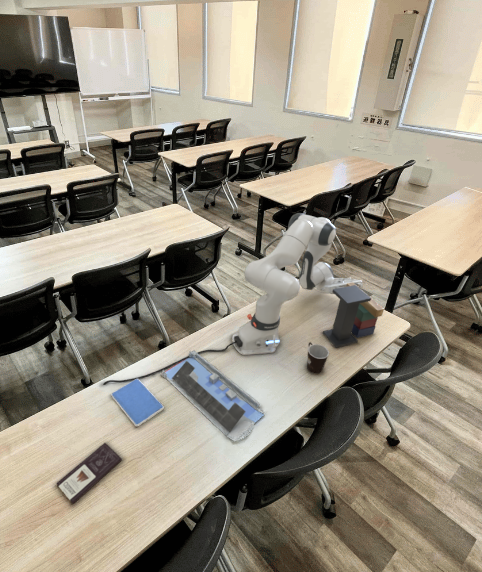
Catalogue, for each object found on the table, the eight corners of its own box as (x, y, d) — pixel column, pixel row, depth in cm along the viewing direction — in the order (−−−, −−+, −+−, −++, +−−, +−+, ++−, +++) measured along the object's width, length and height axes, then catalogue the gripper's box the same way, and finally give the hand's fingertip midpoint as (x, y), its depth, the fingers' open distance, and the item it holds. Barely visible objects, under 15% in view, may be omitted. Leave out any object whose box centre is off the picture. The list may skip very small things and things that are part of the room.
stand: (335, 348, 166) (347, 303, 151) (322, 333, 174) (332, 289, 160) (357, 343, 169) (371, 298, 155) (343, 328, 178) (355, 284, 163)
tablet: (165, 408, 136) (165, 406, 136) (136, 428, 129) (136, 426, 129) (138, 379, 148) (137, 377, 147) (110, 396, 141) (109, 393, 140)
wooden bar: (375, 317, 161) (377, 310, 159) (345, 290, 179) (346, 283, 177) (381, 316, 162) (384, 309, 160) (351, 288, 180) (352, 282, 178)
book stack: (356, 338, 172) (364, 313, 164) (338, 319, 184) (344, 295, 175) (373, 334, 175) (381, 309, 166) (354, 315, 186) (361, 292, 178)
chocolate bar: (121, 458, 119) (72, 502, 107) (121, 460, 119) (73, 504, 107) (105, 442, 123) (56, 483, 112) (105, 444, 124) (57, 484, 112)
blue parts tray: (194, 353, 161) (193, 344, 158) (270, 416, 134) (272, 407, 131) (161, 374, 151) (159, 365, 147) (236, 447, 124) (237, 437, 121)
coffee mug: (325, 377, 151) (329, 360, 146) (304, 373, 153) (307, 356, 147) (324, 357, 161) (328, 341, 155) (304, 354, 162) (308, 338, 156)
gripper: (318, 283, 186) (333, 284, 173) (351, 277, 192) (369, 277, 179) (319, 295, 187) (335, 297, 173) (352, 289, 192) (370, 290, 179)
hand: (352, 287), depth 176 cm, fingers open, 8 cm apart
